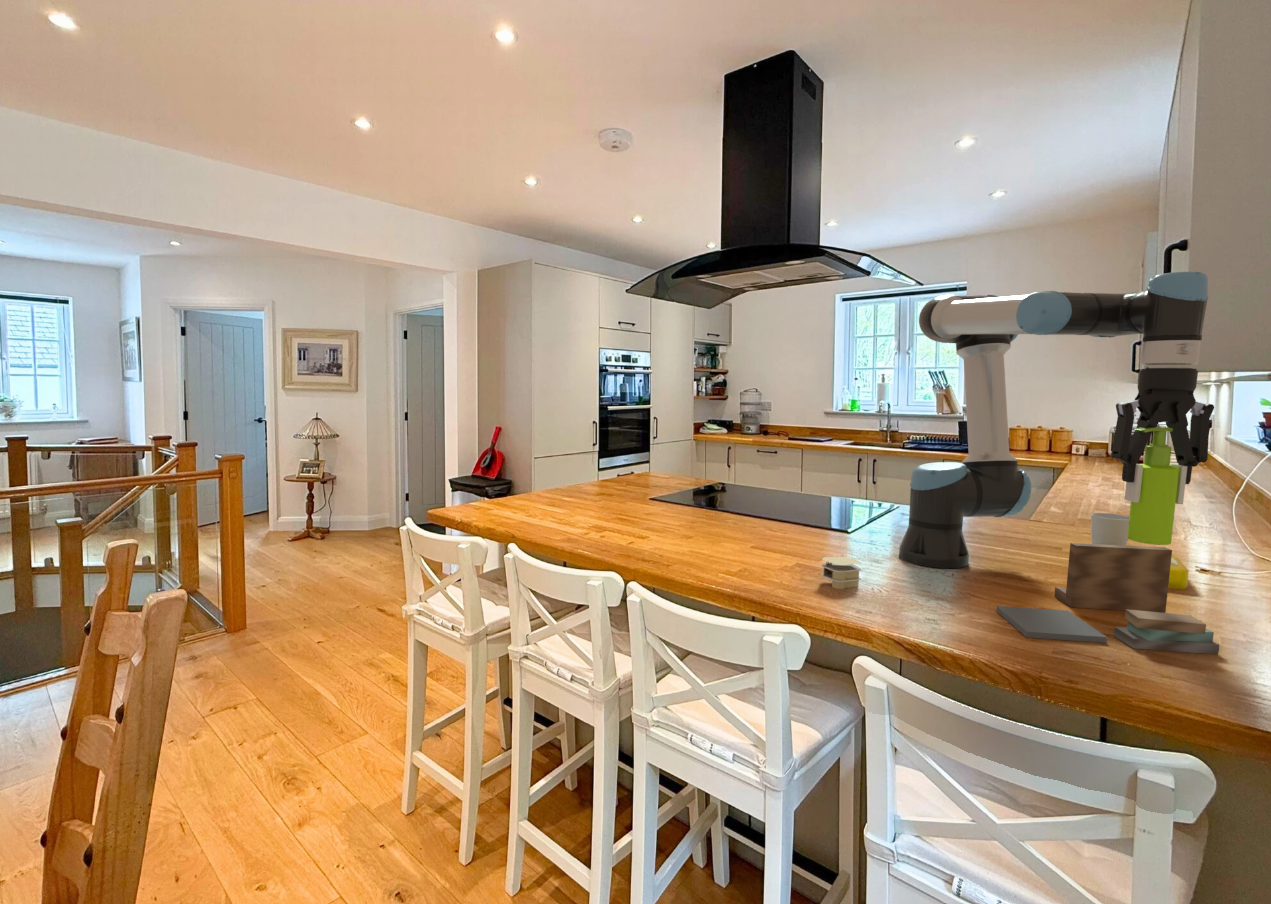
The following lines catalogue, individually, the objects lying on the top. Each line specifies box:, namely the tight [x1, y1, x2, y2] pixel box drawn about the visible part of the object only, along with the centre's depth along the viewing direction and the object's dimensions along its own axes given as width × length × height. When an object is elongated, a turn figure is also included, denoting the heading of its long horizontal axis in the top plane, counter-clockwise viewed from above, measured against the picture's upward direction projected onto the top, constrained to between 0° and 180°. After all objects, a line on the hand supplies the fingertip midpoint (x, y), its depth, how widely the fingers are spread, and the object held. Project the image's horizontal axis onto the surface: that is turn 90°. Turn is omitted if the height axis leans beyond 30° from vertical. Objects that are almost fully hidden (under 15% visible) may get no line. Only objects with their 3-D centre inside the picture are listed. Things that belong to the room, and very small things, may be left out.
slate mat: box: [995, 605, 1108, 644], centre depth 106 cm, size 12×12×1 cm
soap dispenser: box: [1127, 426, 1179, 546], centre depth 105 cm, size 6×7×20 cm
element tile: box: [1168, 555, 1189, 590], centre depth 135 cm, size 15×15×5 cm
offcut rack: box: [1053, 542, 1220, 655], centre depth 107 cm, size 16×25×12 cm, turn 170°
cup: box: [1090, 512, 1129, 546], centre depth 151 cm, size 8×8×10 cm
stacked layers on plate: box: [820, 556, 862, 590], centre depth 127 cm, size 10×9×6 cm
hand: (1153, 501), depth 105 cm, fingers closed on soap dispenser, 6 cm apart
